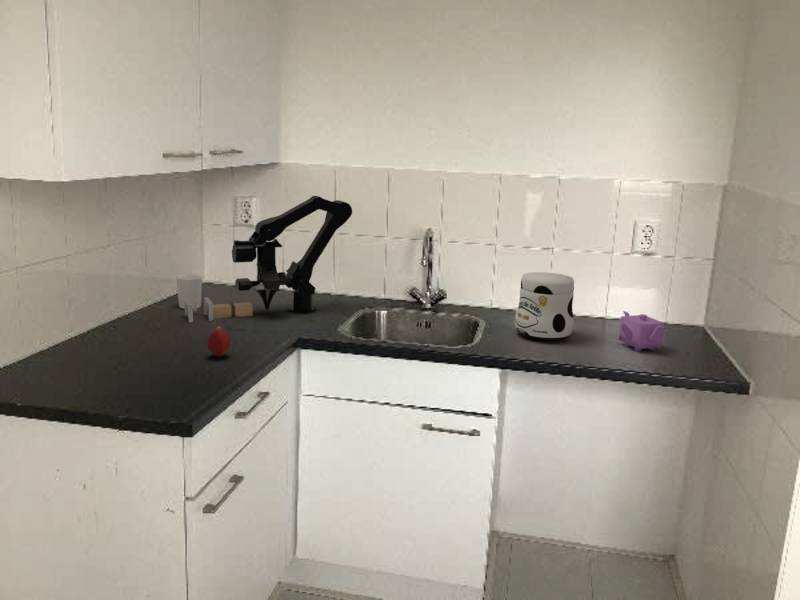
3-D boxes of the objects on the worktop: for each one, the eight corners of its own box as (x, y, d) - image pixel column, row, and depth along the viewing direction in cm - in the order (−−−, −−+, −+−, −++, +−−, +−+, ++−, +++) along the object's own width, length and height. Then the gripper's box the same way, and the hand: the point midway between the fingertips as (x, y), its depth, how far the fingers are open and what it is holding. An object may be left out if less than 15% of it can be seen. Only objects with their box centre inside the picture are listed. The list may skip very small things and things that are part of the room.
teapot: (599, 340, 213) (603, 308, 211) (636, 337, 218) (640, 306, 215) (638, 358, 197) (642, 324, 195) (677, 355, 201) (681, 321, 199)
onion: (218, 361, 181) (218, 331, 179) (202, 357, 184) (201, 327, 182) (235, 356, 186) (234, 326, 184) (219, 351, 189) (218, 322, 187)
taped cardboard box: (249, 313, 229) (249, 302, 228) (252, 315, 226) (252, 304, 225) (211, 315, 224) (211, 304, 223) (213, 318, 221) (213, 307, 220)
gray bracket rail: (206, 311, 228) (206, 295, 227) (213, 320, 218) (212, 303, 217) (183, 313, 225) (182, 296, 224) (189, 322, 215) (188, 304, 214)
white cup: (198, 310, 230) (197, 279, 227) (174, 309, 230) (173, 278, 228) (205, 304, 237) (204, 274, 235) (181, 303, 237) (180, 273, 235)
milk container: (506, 338, 212) (510, 278, 207) (522, 325, 227) (527, 269, 223) (565, 347, 204) (570, 286, 200) (577, 333, 220) (583, 275, 216)
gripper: (242, 267, 214) (243, 317, 218) (302, 264, 222) (302, 313, 226) (234, 260, 224) (235, 309, 228) (292, 258, 232) (292, 305, 236)
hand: (266, 309), depth 229 cm, fingers closed
